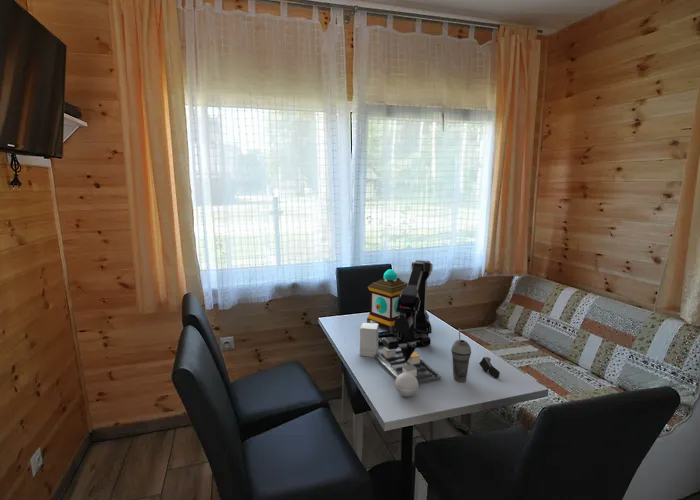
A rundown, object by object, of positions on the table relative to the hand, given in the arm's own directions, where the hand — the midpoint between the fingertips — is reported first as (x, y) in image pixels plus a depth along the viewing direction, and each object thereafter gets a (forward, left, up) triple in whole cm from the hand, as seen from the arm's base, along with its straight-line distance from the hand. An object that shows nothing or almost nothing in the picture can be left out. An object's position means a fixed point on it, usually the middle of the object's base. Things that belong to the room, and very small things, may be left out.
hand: (405, 361), depth 147 cm
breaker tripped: (-3, 0, -1) cm, 4 cm away
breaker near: (+3, +8, -1) cm, 9 cm away
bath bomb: (+9, +17, -3) cm, 20 cm away
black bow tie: (-29, +15, -3) cm, 33 cm away
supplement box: (+8, -18, -3) cm, 20 cm away
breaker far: (+3, -9, -1) cm, 9 cm away
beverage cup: (-15, +15, -3) cm, 21 cm away
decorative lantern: (-16, -46, -3) cm, 49 cm away
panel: (0, 0, -3) cm, 3 cm away
